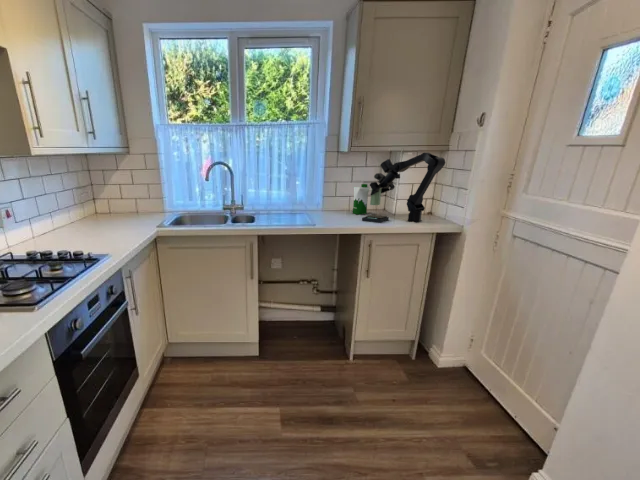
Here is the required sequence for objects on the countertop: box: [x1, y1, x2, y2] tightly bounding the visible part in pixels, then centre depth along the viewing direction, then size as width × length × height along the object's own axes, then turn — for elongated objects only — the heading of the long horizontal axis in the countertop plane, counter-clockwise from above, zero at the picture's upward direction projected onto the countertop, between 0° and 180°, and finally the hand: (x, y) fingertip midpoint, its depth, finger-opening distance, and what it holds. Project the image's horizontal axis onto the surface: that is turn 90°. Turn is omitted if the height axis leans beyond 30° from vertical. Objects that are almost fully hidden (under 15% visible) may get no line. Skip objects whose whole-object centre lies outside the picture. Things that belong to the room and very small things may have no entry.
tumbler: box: [369, 188, 382, 206], centre depth 245 cm, size 6×6×13 cm
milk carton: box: [352, 183, 370, 216], centre depth 251 cm, size 9×9×20 cm
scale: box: [361, 214, 390, 224], centre depth 228 cm, size 12×12×3 cm
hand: (374, 194), depth 246 cm, fingers closed on tumbler, 6 cm apart
